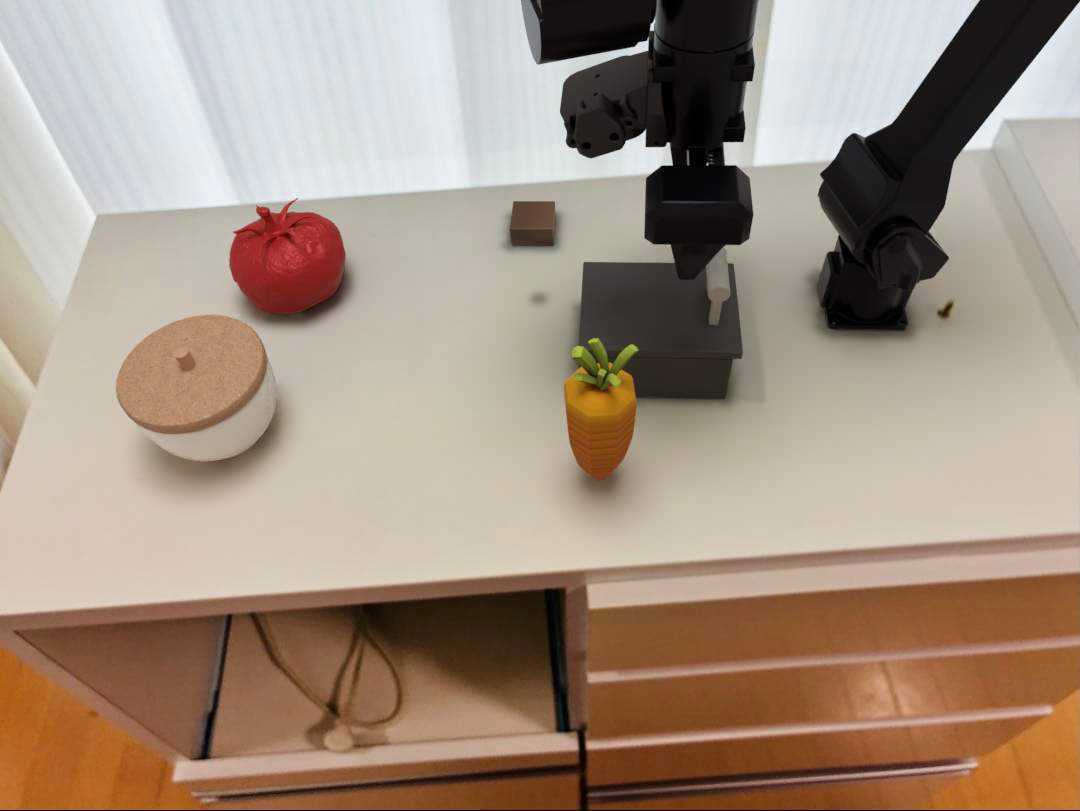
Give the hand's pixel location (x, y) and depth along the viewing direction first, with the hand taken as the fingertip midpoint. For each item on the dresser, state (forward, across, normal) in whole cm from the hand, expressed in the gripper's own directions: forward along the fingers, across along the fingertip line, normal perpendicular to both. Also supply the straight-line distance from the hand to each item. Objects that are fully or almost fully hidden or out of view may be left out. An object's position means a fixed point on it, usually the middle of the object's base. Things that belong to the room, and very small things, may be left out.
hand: (685, 233), depth 60 cm
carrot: (+12, +14, -6) cm, 19 cm away
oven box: (+12, +1, -2) cm, 12 cm away
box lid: (+7, +1, -2) cm, 7 cm away
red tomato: (+12, -5, -34) cm, 36 cm away
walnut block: (+12, -14, -13) cm, 22 cm away
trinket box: (+11, +11, -36) cm, 39 cm away
